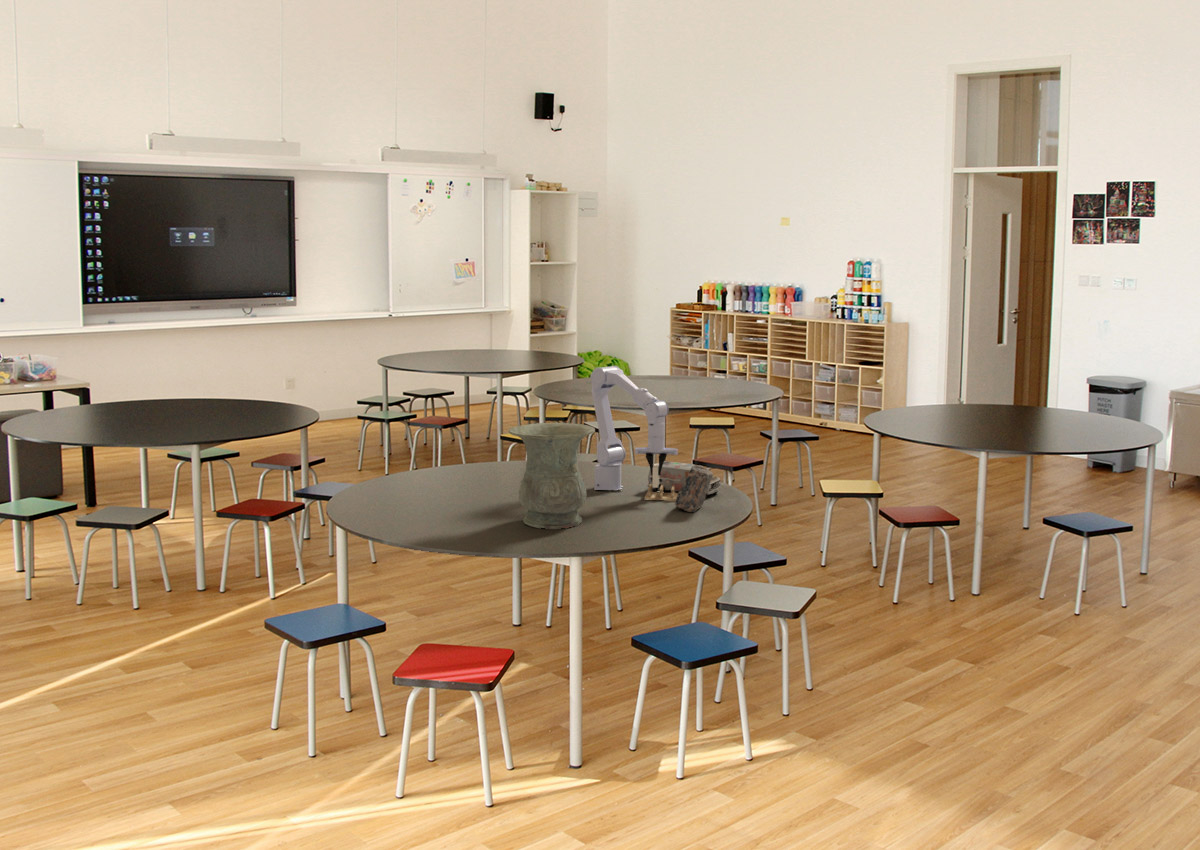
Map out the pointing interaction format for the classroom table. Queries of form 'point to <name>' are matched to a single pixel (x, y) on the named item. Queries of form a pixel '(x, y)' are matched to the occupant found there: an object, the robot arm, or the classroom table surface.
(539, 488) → the vessel
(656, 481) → the tall cream block
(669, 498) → the rack
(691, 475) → the stone
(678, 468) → the toy car
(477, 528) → the classroom table surface
